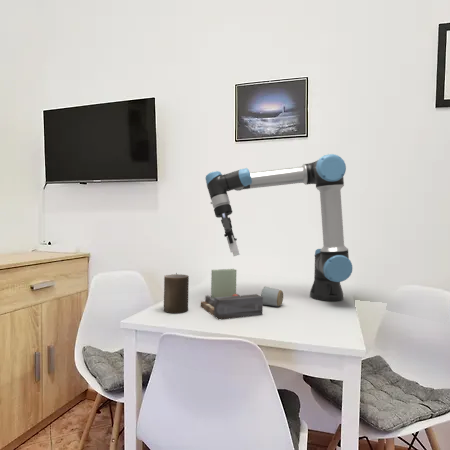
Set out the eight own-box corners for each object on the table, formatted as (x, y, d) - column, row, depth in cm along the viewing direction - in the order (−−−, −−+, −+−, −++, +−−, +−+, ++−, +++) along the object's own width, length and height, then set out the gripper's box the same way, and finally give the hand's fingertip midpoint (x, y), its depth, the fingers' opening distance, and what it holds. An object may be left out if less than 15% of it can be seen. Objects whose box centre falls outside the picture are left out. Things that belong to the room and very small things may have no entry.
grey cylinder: (278, 308, 149) (279, 290, 149) (259, 306, 152) (260, 287, 152) (286, 303, 158) (286, 286, 158) (268, 301, 162) (268, 284, 162)
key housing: (200, 306, 150) (200, 288, 150) (239, 303, 157) (240, 285, 157) (219, 319, 131) (219, 299, 131) (262, 315, 139) (262, 295, 138)
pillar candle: (186, 313, 138) (187, 274, 138) (161, 313, 138) (162, 274, 138) (189, 307, 148) (190, 271, 148) (165, 307, 148) (166, 270, 148)
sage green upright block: (211, 301, 150) (211, 269, 150) (232, 299, 154) (233, 268, 154) (213, 302, 147) (214, 270, 147) (235, 300, 151) (236, 269, 151)
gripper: (217, 215, 168) (229, 259, 164) (209, 201, 144) (223, 252, 139) (232, 210, 168) (245, 254, 163) (227, 196, 143) (242, 247, 139)
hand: (235, 253), depth 151 cm, fingers open, 13 cm apart
